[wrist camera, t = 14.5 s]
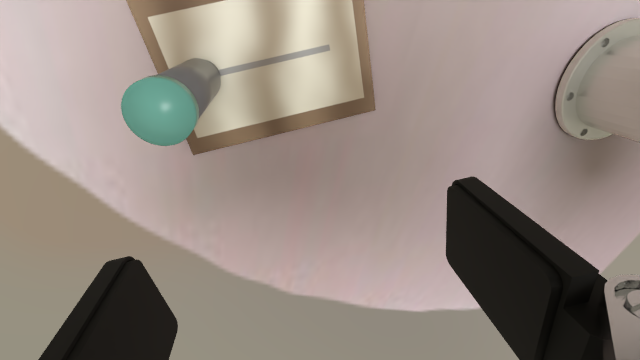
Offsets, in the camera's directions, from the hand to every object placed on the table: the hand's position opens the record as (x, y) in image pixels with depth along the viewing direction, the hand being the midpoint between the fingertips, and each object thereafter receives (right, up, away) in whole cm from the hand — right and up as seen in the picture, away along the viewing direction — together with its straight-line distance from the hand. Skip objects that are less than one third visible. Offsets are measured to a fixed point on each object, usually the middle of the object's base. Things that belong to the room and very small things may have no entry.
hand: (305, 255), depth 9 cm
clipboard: (-4, +13, +18) cm, 22 cm away
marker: (-9, +11, +17) cm, 22 cm away
